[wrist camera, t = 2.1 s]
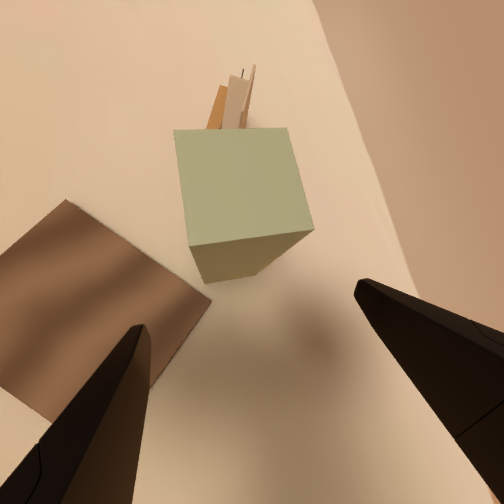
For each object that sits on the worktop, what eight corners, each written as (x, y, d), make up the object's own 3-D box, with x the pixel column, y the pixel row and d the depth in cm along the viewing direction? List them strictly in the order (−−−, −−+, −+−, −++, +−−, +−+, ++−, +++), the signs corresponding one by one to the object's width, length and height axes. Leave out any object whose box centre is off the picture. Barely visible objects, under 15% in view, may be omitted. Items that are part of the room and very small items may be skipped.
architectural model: (205, 162, 24) (201, 100, 17) (219, 115, 26) (221, 42, 19) (234, 170, 24) (243, 113, 17) (246, 124, 26) (258, 55, 19)
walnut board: (211, 301, 20) (211, 301, 19) (105, 449, 16) (100, 457, 15) (71, 203, 20) (65, 199, 19) (-69, 326, 16) (-84, 327, 15)
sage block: (255, 274, 21) (314, 229, 9) (204, 283, 20) (188, 246, 8) (246, 228, 22) (286, 127, 10) (197, 234, 21) (173, 130, 9)
